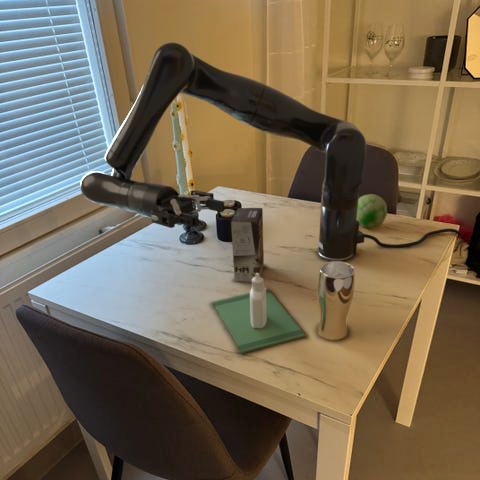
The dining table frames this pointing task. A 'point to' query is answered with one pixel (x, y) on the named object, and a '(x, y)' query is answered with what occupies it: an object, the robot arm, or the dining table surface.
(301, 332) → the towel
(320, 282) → the beer glass
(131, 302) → the dining table surface
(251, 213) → the coffee box
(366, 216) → the decorative ball
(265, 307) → the eye dropper bottle
